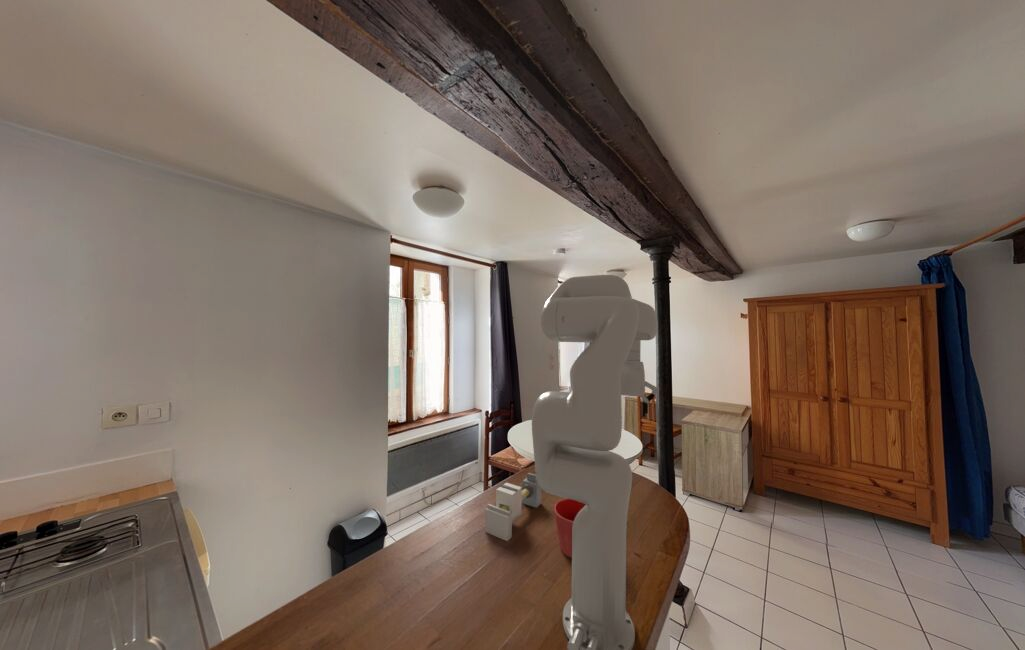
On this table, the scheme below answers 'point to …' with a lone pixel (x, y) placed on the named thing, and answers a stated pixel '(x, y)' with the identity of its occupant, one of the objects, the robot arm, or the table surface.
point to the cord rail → (502, 517)
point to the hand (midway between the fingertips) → (626, 413)
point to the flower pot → (566, 522)
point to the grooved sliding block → (510, 499)
